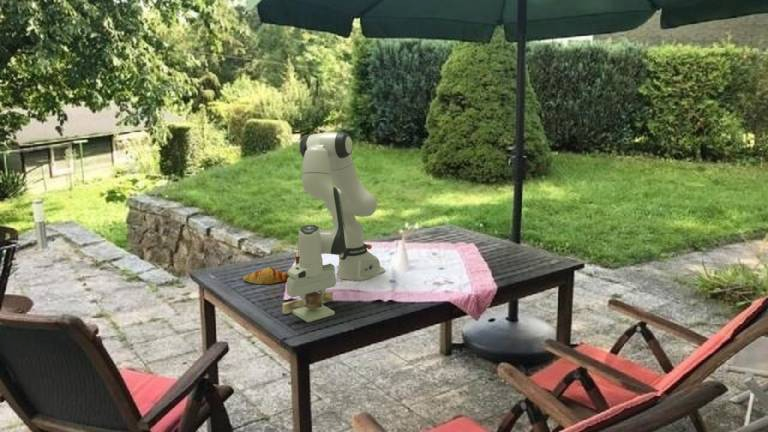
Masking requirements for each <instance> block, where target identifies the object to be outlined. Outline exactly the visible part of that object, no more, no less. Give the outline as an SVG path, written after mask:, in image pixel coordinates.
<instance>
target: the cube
mask: <svg viewBox="0 0 768 432" xmlns="http://www.w3.org/2000/svg"><path fill="white" fill-rule="evenodd" d="M319 293H320V292H318V291H316V292H312V293H308V294H305V297H304V298H305V299H307V300H308V304H307V305H304V306H305V307H306V308H308V309H310V310H312V309H316V308H319V307H322V305H323V304H322V298H321V294H319Z"/></svg>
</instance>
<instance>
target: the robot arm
mask: <svg viewBox="0 0 768 432" xmlns="http://www.w3.org/2000/svg"><path fill="white" fill-rule="evenodd" d="M353 147H354V146H353V140H352V138H351V136H350V135H349V134H348V133H347V132H343V131H338V132H333V131H332V132H331V131H329V132H327V131H326V132H319V133H313V134H312V133H309V134H306V135H303V136H302V138H301V139H300V141H299V154H300V155H301V156H302V158H303V159H302V166H301V167H302V168H301V184H302V188H303V190H304V192H305V193H306V194H307V195H309V196H311V197H313V198H315V199H318V200H320V201H322V202H324V206H325V207H326V209H327V210H328V211H329V212H330V213H331V216H332V222H333V223H332V224H333V227H332V228H320V227H319V226H318V225H315V224H305V225H303V226H300V228H299V231H298V238H297V248H298V254H299V253H300V258H299V263H298V264H297V265H296V264H295V265H293V267H291V268H289V269H288V270H287V274H288V275H289V277H288V279H287V280H286V294H287V295H288V296H289V297H291V298H297V297H300V299H302V301H303V305H307V304H308V300H307V299H305V298H304V297H305V294H308V293H312V292H318V291H319V292H318V293H319V294H321V298H322V300H323V297H322V296H323V295H324V292H326V289H329V288H334V287H336V285H337V278H340V279H343V280H348V281H350V280H351V281H352V280H353V281H354V280H355V281H356V280H357V281H366V280H369V279H371V278H373V277H376V276H379V275H381V274H384V273H386V269H385V267H383V266H381V263H380V259H379V258H378V257H377V256H376V255H374V254H373V253H371V252H370V251H369V250H371V249H372V247H373V246H372V244H369V243H368V244H366V243H365V230H364V226H363V225H362V224H361V223H360V222H359V221H358V220H357V218H356V217H359V218H362V217H371V216H372V215H374V214H375V212H376V210H377V208H378V201H377V197H376V196H375V195H374V194H373V193H371V192H370V191H369V190H368V189H367V188H366V187H365V185H363V183H362V182H361V180H360V179H359V176H358V173H357V171H356V168H355V163H354V159H353V156H352V152H353ZM325 254H326V255H336V256H338V257H339V258H338V268H337V273H335V270H336V268H335V265H334V264H332V263H327V264H323V263H324V262H323V257H322V255H325ZM336 277H337V278H336Z"/></svg>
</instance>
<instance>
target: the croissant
mask: <svg viewBox="0 0 768 432" xmlns="http://www.w3.org/2000/svg"><path fill="white" fill-rule="evenodd" d="M288 277H289V275H288V273H287V272H284V271H280V270H278V269H274V267H272V266H271V267H270V266H268V267H265V268H263V269H260V270H256V271H253V272H252V273H251V272H250V273H248V274H246V275H243V277H242V280H243V281H244V282H247V283H250V284H255V285H272V284H276V283H284V282H287V279H288Z"/></svg>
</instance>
